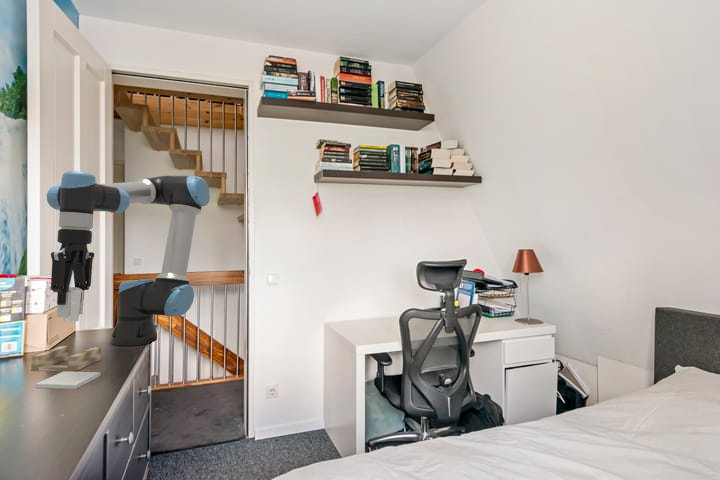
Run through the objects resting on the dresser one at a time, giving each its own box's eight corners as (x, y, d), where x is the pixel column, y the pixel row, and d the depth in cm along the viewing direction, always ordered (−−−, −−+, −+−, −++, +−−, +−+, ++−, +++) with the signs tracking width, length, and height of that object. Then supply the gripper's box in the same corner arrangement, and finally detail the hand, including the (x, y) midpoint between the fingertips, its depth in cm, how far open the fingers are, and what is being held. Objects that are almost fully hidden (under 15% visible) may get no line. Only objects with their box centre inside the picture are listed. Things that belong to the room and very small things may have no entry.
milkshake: (55, 320, 106) (56, 283, 106) (79, 318, 110) (80, 282, 110) (58, 324, 103) (60, 285, 103) (83, 321, 107) (84, 284, 107)
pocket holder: (61, 358, 124) (62, 345, 124) (100, 359, 125) (101, 346, 125) (31, 370, 112) (31, 356, 112) (74, 371, 113) (75, 357, 113)
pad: (63, 375, 110) (63, 371, 110) (100, 376, 110) (100, 372, 110) (35, 387, 100) (35, 384, 100) (75, 389, 100) (76, 385, 100)
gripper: (83, 230, 116) (78, 310, 115) (35, 226, 98) (29, 320, 98) (109, 231, 116) (104, 311, 115) (66, 227, 99) (59, 321, 98)
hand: (69, 315), depth 106 cm, fingers closed on milkshake, 4 cm apart
